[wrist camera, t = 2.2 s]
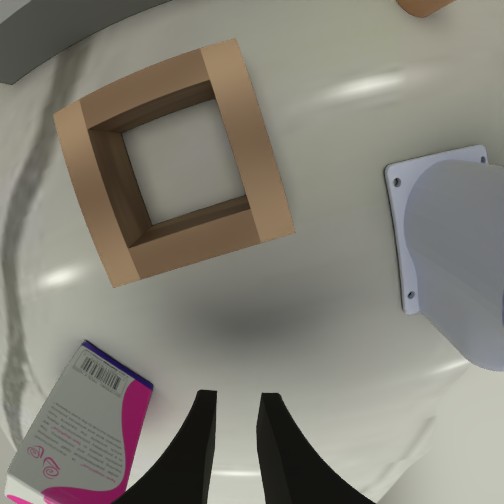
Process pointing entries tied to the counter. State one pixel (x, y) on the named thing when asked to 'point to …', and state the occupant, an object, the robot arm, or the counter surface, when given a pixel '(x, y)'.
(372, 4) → the counter surface
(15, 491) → the supplement box
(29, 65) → the wall
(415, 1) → the dowel
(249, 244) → the socket block
